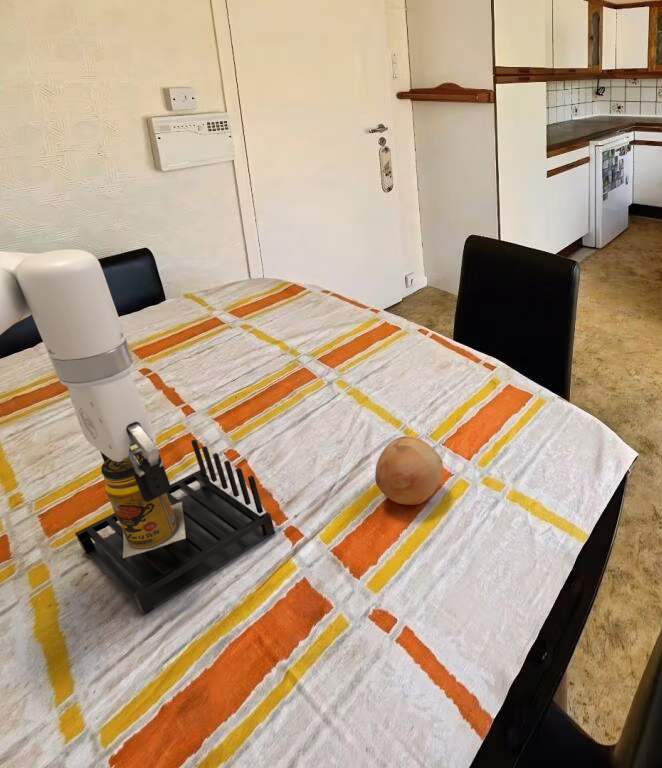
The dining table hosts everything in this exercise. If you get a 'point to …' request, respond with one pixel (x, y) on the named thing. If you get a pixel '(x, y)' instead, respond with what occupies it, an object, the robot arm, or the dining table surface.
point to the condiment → (140, 510)
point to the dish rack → (186, 556)
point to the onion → (408, 471)
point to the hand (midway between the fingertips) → (139, 481)
